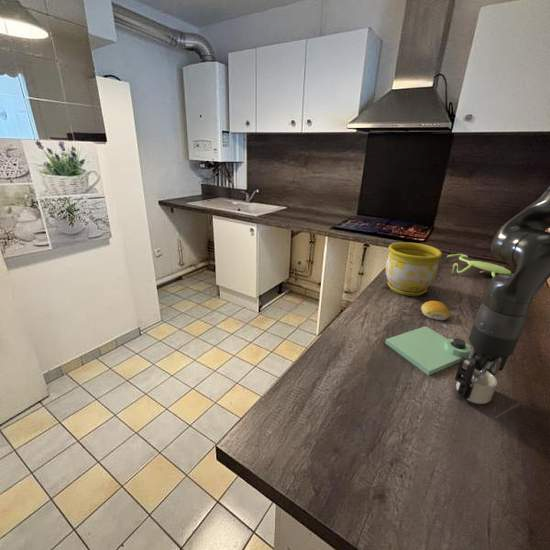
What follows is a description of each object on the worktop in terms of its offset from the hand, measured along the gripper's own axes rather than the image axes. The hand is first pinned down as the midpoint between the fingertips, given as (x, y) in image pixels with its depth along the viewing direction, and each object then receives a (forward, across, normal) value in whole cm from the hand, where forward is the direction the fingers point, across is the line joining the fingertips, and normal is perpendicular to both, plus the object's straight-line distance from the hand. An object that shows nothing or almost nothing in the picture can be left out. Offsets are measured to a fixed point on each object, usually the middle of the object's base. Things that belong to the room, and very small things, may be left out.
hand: (473, 390), depth 64 cm
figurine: (+1, +73, +44) cm, 85 cm away
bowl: (+1, 0, 0) cm, 1 cm away
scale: (+1, +4, +15) cm, 16 cm away
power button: (-2, +9, +11) cm, 14 cm away
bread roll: (+1, +23, +27) cm, 35 cm away
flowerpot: (+1, +30, +45) cm, 54 cm away
